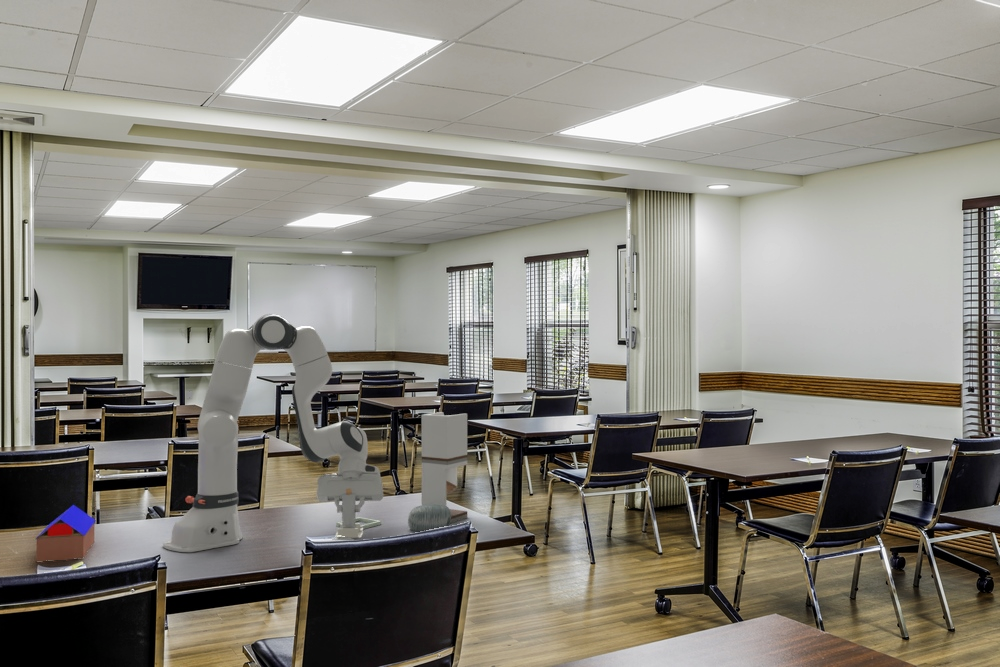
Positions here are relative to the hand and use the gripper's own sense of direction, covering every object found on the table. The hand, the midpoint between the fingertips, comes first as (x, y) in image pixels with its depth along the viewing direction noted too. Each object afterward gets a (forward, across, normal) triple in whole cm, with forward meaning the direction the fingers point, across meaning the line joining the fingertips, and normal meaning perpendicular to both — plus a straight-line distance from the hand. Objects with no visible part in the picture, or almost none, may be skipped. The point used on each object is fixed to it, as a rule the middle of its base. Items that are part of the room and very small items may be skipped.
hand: (348, 511), depth 243 cm
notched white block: (-11, +29, +22) cm, 38 cm away
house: (+13, -78, -1) cm, 79 cm away
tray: (-4, +2, +15) cm, 15 cm away
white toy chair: (+4, 0, +7) cm, 8 cm away
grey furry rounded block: (+1, +24, +10) cm, 27 cm away
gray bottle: (+4, 0, +5) cm, 7 cm away
